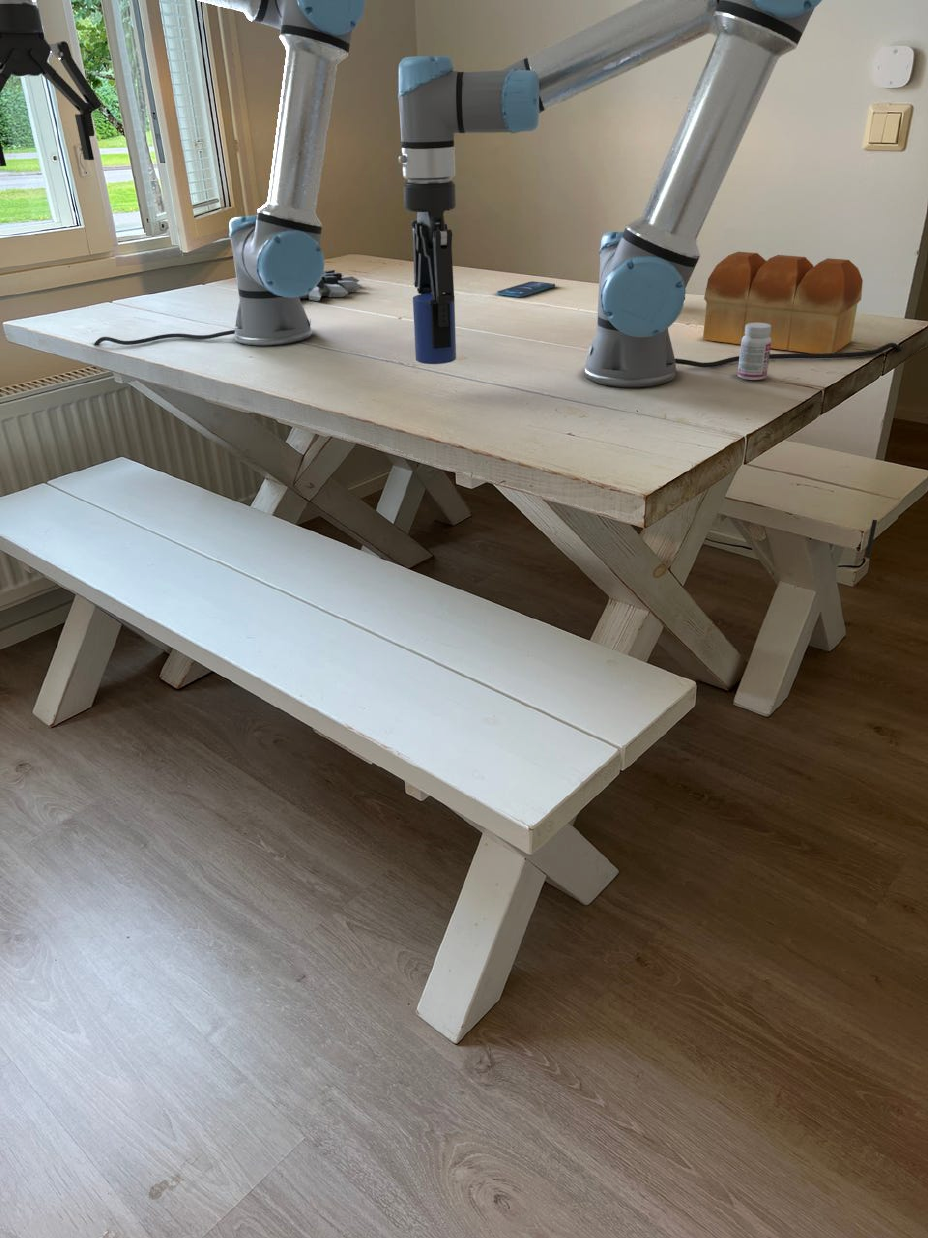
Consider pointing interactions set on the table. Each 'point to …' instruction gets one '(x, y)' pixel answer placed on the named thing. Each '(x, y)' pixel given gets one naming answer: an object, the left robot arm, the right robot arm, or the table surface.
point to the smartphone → (525, 289)
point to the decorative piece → (333, 286)
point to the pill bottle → (755, 351)
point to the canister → (424, 333)
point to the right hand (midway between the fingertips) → (435, 341)
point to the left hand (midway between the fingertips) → (46, 162)
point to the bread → (783, 301)
